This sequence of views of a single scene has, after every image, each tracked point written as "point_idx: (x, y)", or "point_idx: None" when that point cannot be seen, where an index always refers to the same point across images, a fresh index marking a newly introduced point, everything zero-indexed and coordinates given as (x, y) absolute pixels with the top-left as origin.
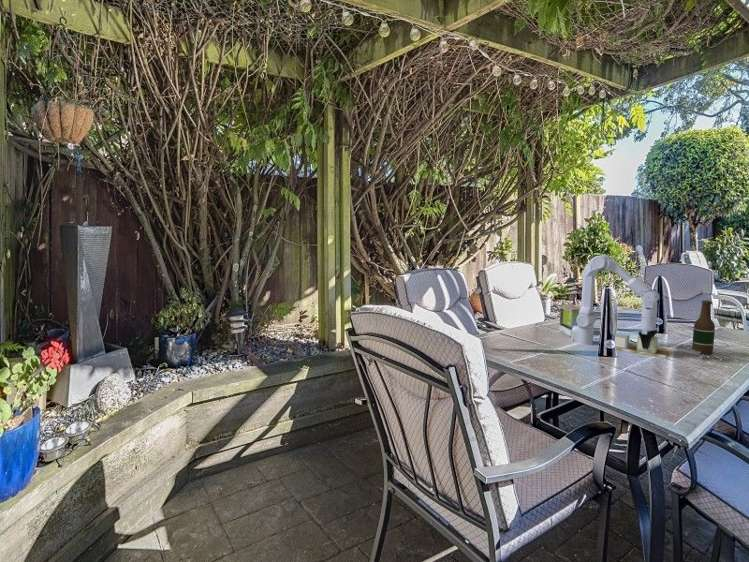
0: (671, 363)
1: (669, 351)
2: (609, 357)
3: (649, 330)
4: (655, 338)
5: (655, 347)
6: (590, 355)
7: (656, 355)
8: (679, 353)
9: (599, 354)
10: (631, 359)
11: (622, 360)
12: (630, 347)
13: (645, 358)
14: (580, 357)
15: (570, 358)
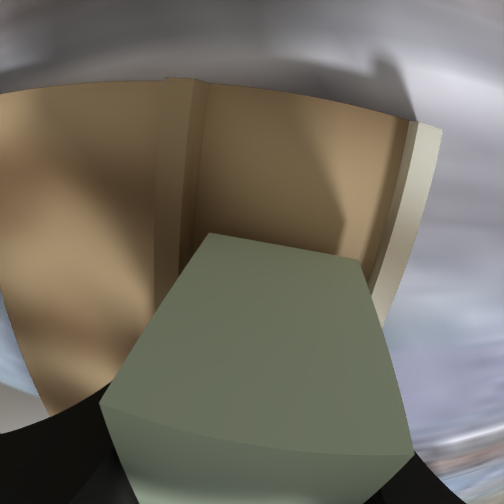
0: (491, 84)
1: (44, 104)
2: (440, 456)
3: None
4: (367, 464)
5: (358, 304)
6: None
7: (411, 236)
8: (6, 46)
9: None
10: (466, 384)
11: (493, 410)
12: None
13: (407, 311)
14: (457, 495)
15: (472, 499)
